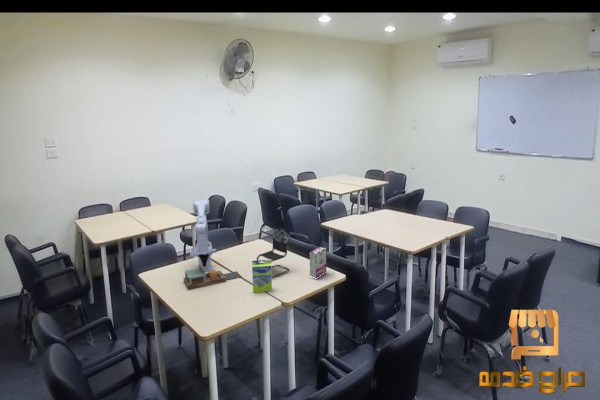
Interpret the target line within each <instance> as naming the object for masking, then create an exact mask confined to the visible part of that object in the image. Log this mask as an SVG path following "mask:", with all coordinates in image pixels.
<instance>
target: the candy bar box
mask: <svg viewBox="0 0 600 400" xmlns="http://www.w3.org/2000/svg"><path fill="white" fill-rule="evenodd" d="M325 272H326V273H327V248H326V247H321V246H319V247H317V248H315V249H313V250H312V251H309V277H310V276H312V277H315V278H317V277H319V276H320V275H322V274H323V273H325Z"/></svg>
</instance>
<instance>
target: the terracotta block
mask: <svg viewBox="0 0 600 400" xmlns="http://www.w3.org/2000/svg"><path fill="white" fill-rule="evenodd" d="M217 271H218V270H216V269H213V270H211V271H208V273H209V278H208V279H209V280H211V279H216V278H218V276H217Z"/></svg>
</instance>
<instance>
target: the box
mask: <svg viewBox="0 0 600 400" xmlns="http://www.w3.org/2000/svg"><path fill="white" fill-rule="evenodd" d="M270 261H271V259H260V260H259V259H258V261H257V260H252V264H251V269H252V270H251V272H252V273H251V274H252V293H253V292H255V293H263V292H264V293H265V291H267V292H271V291H270V290H272V291H273V288H272V287H273V285H272V284H273V281H272V280H273V278H272V276H273V275H272V274H273V273H272V268H271V267H272V262H271V263H270Z"/></svg>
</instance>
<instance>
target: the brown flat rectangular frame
mask: <svg viewBox="0 0 600 400" xmlns="http://www.w3.org/2000/svg"><path fill="white" fill-rule="evenodd" d="M216 271H217V276H218V278H216V279H211V280H209V272H206V273H205V276H206V282H204V276H203V277H198V278H193V279H191V282H192V285H190V282H189V278H188V276H187V278H185V277H183V283H184V285H185V286H186V289H187V290H188V291H190V290H194V289H199V288H203V287H208V286H213V285H218V284H223V283H226V282H227V279H226V277H225V276H224V275H223V274H224V273H223V272H222V271H221V270H216Z"/></svg>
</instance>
